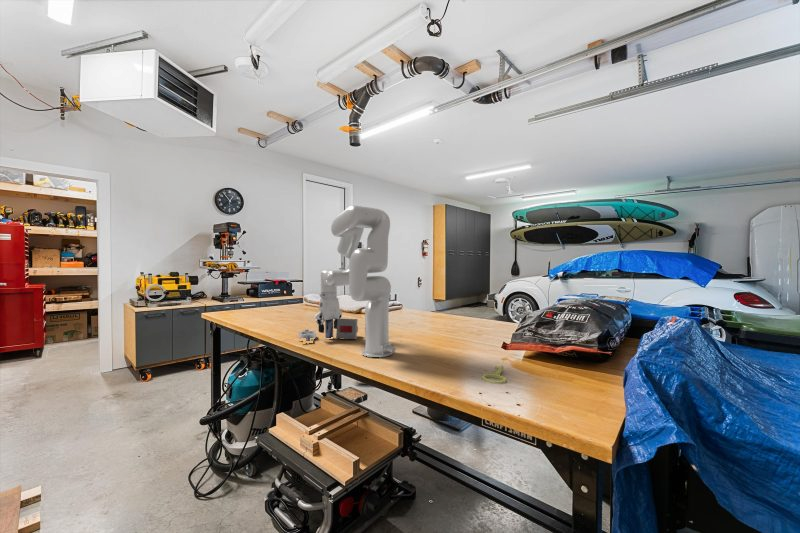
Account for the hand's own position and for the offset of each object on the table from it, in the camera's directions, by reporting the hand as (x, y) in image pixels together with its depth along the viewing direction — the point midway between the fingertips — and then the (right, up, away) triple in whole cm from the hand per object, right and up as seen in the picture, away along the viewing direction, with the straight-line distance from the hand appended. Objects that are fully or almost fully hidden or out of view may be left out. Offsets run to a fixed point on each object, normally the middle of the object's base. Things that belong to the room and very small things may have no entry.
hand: (329, 330), depth 152 cm
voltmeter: (+16, -4, +3) cm, 17 cm away
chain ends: (-11, -4, +2) cm, 12 cm away
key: (+66, -5, -52) cm, 84 cm away
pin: (0, -4, 0) cm, 4 cm away
